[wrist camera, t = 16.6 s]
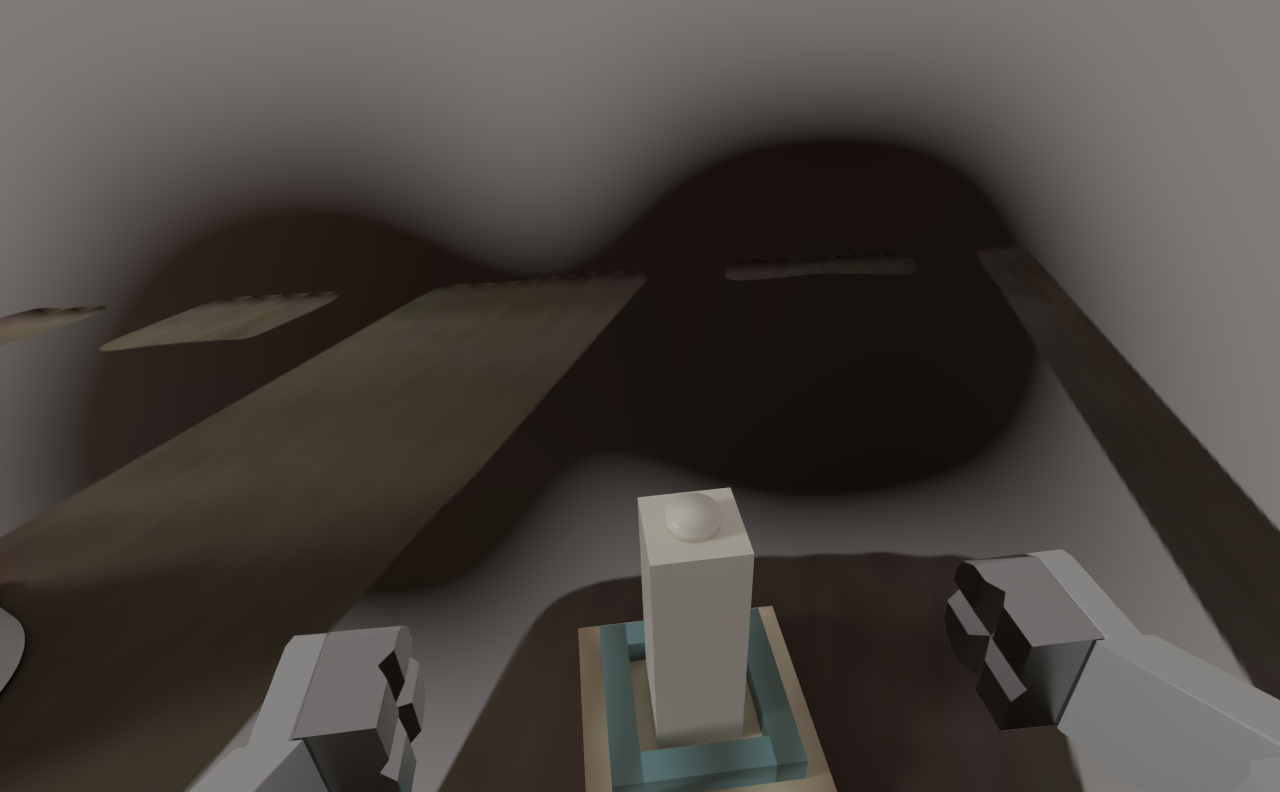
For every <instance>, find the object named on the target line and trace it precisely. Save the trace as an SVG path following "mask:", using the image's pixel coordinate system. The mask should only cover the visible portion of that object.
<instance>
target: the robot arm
mask: <svg viewBox="0 0 1280 792" xmlns="http://www.w3.org/2000/svg"><path fill="white" fill-rule="evenodd" d="M953 580H954V582H955V583H956V585H957V586H958V588H959V590H958V591H957V592H956V593H955V594H954V595H953V596H952V597H951V598H950V599H949V600H948V601H947V605H946V609H945V614H944V621H945V629H946V635H947V638H948V641H949V643H950V646H951V649H952V650H953V652H954V654H955V656H956V657H957V659H958V661H959V663H960V664H961V665H963V666H964V667H966V668H967V669H969V670H970V671H972V672H974V673H975V674H977V675H978V677H977V683H976V689H975V690H976V692H977V693H978V695H979V697H980V698H981V700H982V702H983V703H984V705H985V707H986V708H987V710H988V712H989V713H990V715H991V717H992V718H993V720H994V722H995V723H996V725H997V727H998V728H999V730H1000V731H1004V730H1013V729H1023V728H1033V727H1042V726H1052V725H1058V727H1057V728H1058V729H1059V730H1060V731H1061V732H1063V733H1064V734H1065V735H1067V736H1068V737H1069V738H1070V739H1072V740H1073V741H1074V742H1075V743H1077V744H1078V745H1079V746H1081V747H1082V748H1083V749H1084V750H1086V751H1087V752H1088V753H1090V754H1091V755H1092V756H1093V757H1095V758H1096V759H1097V760H1098V761H1100V762H1101V763H1102V764H1103V765H1105V766H1106V767H1107V768H1109V769H1110V770H1111V771H1112V772H1114V773H1115V774H1116V775H1118V776H1119V777H1120V778H1121V779H1122V780H1124V781H1125V782H1126V783H1128V784H1129V785H1130V786H1131V787H1133V788H1134V789H1135V790H1137V791H1138V792H1280V700H1278V699H1276V698H1274V697H1272V696H1270V695H1268V694H1266V693H1264V692H1263V691H1261V690H1259V689H1257V688H1255V687H1253V686H1251V685H1249V684H1247V683H1245V682H1243V681H1241V680H1239V679H1238V678H1236V677H1234V676H1232V675H1230V674H1228V673H1226V672H1224V671H1222V670H1221V669H1218V668H1217V667H1215V666H1213V665H1211V664H1209V663H1207V662H1205V661H1203V660H1201V659H1200V658H1198V657H1196V656H1194V655H1192V654H1190V653H1188V652H1186V651H1184V650H1182V649H1180V648H1178V647H1177V646H1175V645H1173V644H1171V643H1169V642H1167V641H1165V640H1163V639H1161V638H1159V637H1157V636H1156V635H1154V634H1148V635H1142V634H1141V633H1140V631H1139V630H1138V629H1137V628H1136V627H1135V626H1134V625H1133V624H1132V622H1131V621H1130V620H1129V619H1128V618H1127V617H1126V616H1125V615H1124V614H1123V612H1121V610H1120V609H1119V608H1118V607H1117V606H1116V605H1115V604H1114V602H1113V601H1112V600H1111V599H1110V598H1109V597H1108V596H1107V595H1106V593H1104V591H1103V590H1102V589H1101V588H1100V587H1099V586H1098V585H1097V583H1096V582H1095V581H1094V580H1093V579H1092V578H1091V577H1090V576H1089V575H1088V573H1087V572H1086V571H1085V570H1084V569H1083V568H1082V567H1081V566H1080V564H1079V563H1078V562H1077V561H1076V560H1075V559H1074V558H1073V557H1072V556H1071V555H1070V554H1069V553H1067V552H1065V551H1063V550H1053V551H1044V552H1036V553H1028V554H1016V555H1009V556H1000V557H992V558H984V559H976V560H968V561H963V562H962V563H961V564H960V565H959V566H958V567H957V569H956V572H955V575H954V579H953ZM412 643H413V642H412V639H411V636H410V633H409V631H408V628H407V627H406V626H394V627H383V628H372V629H360V630H348V631H338V632H330V633H320V634H309V635H299V636H294V637H293V638H292V639H291V641H290V642H289V643H288V644H287V645H286V647H285V649H284V652H283V654H282V657H281V659H280V662H279V664H278V667H277V670H276V672H275V675H274V677H273V680H272V682H271V685H270V688H269V690H268V693H267V695H266V698H265V700H264V703H263V706H262V708H261V711H260V713H259V716H258V718H257V721H256V724H255V727H254V729H253V732H252V734H251V737H250V739H249V742H248V744H247V746H244V747H237V748H234V750H232V751H231V752H230V753H229V754H228V755H227V756H226V757H225V758H224V759H223V760H222V761H221V762H220V763H219V764H218V765H217V766H216V767H215V768H214V769H213V770H212V771H210V772H209V773H208V774H207V775H206V776H205V777H204V778H203V779H202V780H201V781H200V782H199V783H198V784H197V785H196V786H195V787H194V788H193V789H192V790H191V791H190V792H411V789H412V784H413V777H414V772H415V766H416V759H415V756H414V753H413V750H412V747H411V742H412V741H413V740H414V739H415V738H416V736H417V735H418V734H419V733H420V732H421V730H422V723H423V716H424V698H425V689H424V681H423V674H422V671H421V667H420V664H419V662H417V661H416V660H414V659H413V658H411V657H410V653H411V648H412ZM24 644H25V635H24V630H23V628H22V626H21V624H20V622H19V621H18V620H17V619H16V618H15V617H13V616H12V615H10V614H9V613H8V612H6V611H5V610H4V609H2V608H1V607H0V692H1V690H2V689H3V688H4V686H5V685H6V684H7V682H8V681H9V679H10V678H11V676H12V675H13V673H14V671H15V669H16V668H17V666H18V664H19V661H20V659H21V656H22V653H23V650H24Z"/></svg>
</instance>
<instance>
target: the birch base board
mask: <svg viewBox="0 0 1280 792" xmlns="http://www.w3.org/2000/svg"><path fill="white" fill-rule="evenodd" d="M578 632H579V654H580V675H581V697H582V718H583V739H584V761H585V782H586V792H837V790H836V787H835V784H834V782H833V779H832V776H831V773H830V770H829V767H828V764H827V762H826V759H825V756H824V753H823V750H822V747H821V744H820V742H819V739H818V736H817V733H816V730H815V727H814V724H813V722H812V719H811V716H810V713H809V710H808V707H807V704H806V702H805V699H804V696H803V693H802V690H801V687H800V684H799V682H798V679H797V676H796V673H795V670H794V667H793V664H792V661H791V659H790V656H789V653H788V650H787V647H786V644H785V641H784V639H783V636H782V633H781V630H780V627H779V624H778V621H777V619H776V616H775V613H774V610H773V607H772V606H767V607H759V608H751V611H750V626H749V641H748V656H747V671H746V686H745V701H744V716H743V731H742V738H737V739H730V740H723V741H715V742H708V743H701V744H694V745H686V746H679V747H672V748H664V749H657V742H656V735H655V728H654V722H653V715H652V708H651V701H650V695H649V688H648V681H647V672H646V653H645V633H644V621H638V622H629V623H620V624H612V625H603V626H594V627H586V628H578Z"/></svg>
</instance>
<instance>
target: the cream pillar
mask: <svg viewBox="0 0 1280 792" xmlns="http://www.w3.org/2000/svg"><path fill="white" fill-rule="evenodd" d="M638 514H639V534H640V553H641V574H642V593H643V613H644V633H645V653H646V672H647V681H648V688H649V695H650V701H651V708H652V715H653V722H654V728H655V735H656V742H657V749H664V748H672V747H679V746H686V745H694V744H701V743H708V742H715V741H723V740H730V739H737V738H742V731H743V716H744V701H745V686H746V671H747V656H748V641H749V626H750V611H751V596H752V581H753V566H754V552H753V549H752V546H751V544H750V541H749V538H748V535H747V532H746V530H745V527H744V524H743V522H742V519H741V516H740V513H739V510H738V508H737V505H736V502H735V499H734V497H733V494H732V491H731V488H722V489H712V490H703V491H694V492H684V493H675V494H666V495H656V496H647V497H638Z"/></svg>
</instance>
